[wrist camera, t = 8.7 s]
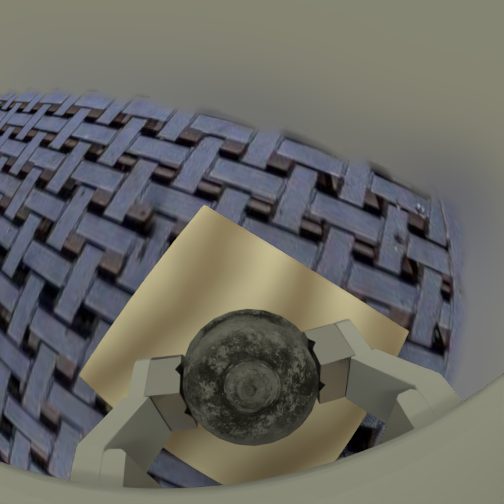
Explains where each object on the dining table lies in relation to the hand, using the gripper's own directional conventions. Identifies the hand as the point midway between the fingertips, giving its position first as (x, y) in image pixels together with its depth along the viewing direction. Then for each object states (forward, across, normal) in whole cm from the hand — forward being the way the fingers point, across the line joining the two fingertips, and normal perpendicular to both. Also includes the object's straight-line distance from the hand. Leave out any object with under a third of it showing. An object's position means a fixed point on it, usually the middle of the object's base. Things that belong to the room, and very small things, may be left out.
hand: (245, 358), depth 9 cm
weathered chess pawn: (+5, 0, +6) cm, 7 cm away
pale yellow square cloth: (+8, 0, +8) cm, 11 cm away
